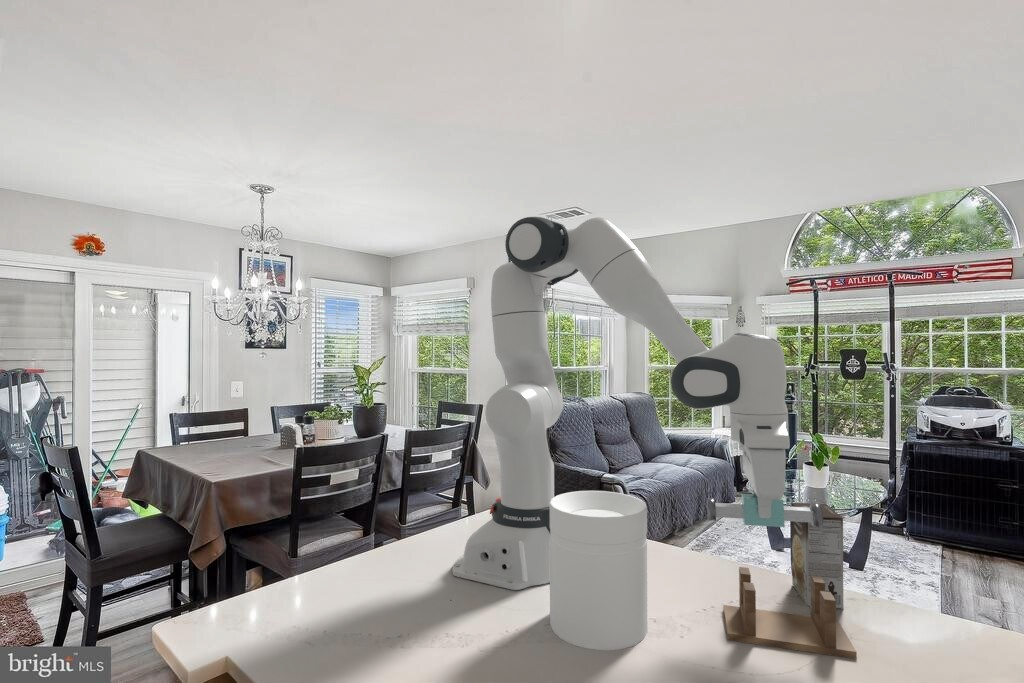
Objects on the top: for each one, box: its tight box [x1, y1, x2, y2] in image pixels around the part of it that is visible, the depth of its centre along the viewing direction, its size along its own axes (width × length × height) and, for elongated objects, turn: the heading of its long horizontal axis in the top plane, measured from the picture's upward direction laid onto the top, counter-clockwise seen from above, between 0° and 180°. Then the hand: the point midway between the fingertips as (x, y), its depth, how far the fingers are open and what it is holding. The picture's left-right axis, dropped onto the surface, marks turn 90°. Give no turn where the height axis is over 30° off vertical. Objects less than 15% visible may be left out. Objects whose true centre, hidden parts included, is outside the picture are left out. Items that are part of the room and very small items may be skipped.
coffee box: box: [791, 502, 844, 609], centre depth 100 cm, size 9×6×16 cm
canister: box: [549, 490, 649, 652], centre depth 90 cm, size 16×16×20 cm
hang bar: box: [706, 493, 823, 528], centre depth 90 cm, size 17×4×4 cm, turn 73°
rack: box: [723, 566, 858, 659], centre depth 87 cm, size 18×10×8 cm, turn 73°
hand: (762, 513), depth 90 cm, fingers closed on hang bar, 3 cm apart
